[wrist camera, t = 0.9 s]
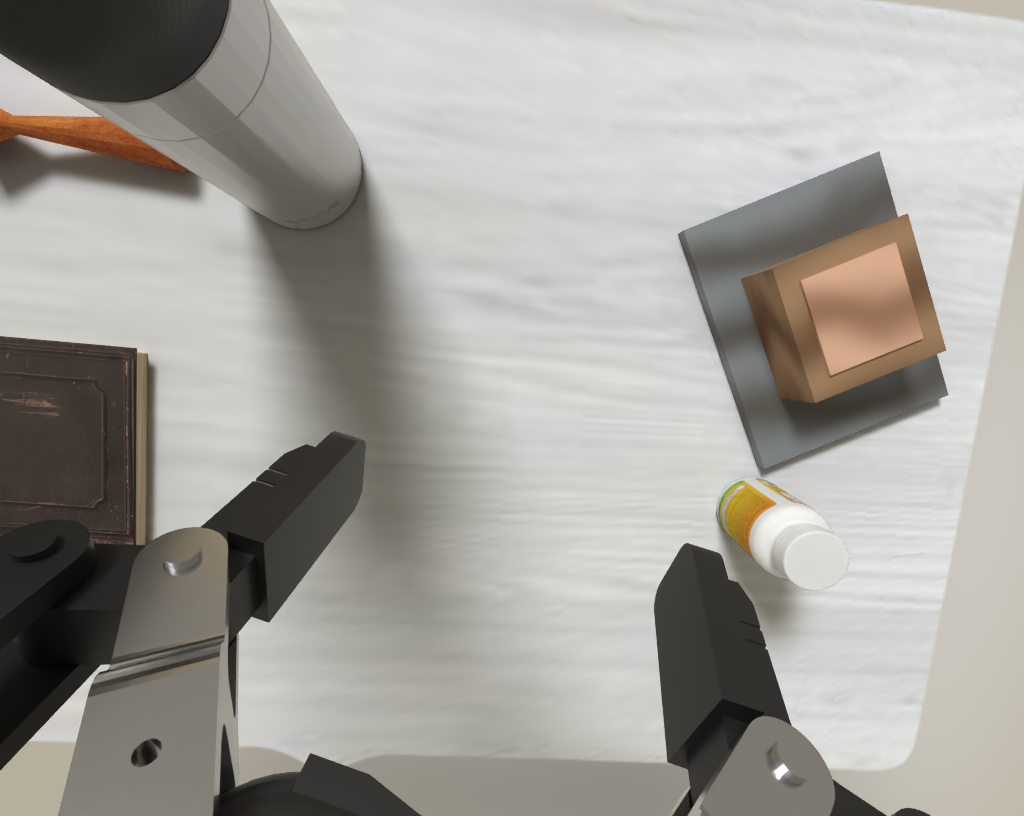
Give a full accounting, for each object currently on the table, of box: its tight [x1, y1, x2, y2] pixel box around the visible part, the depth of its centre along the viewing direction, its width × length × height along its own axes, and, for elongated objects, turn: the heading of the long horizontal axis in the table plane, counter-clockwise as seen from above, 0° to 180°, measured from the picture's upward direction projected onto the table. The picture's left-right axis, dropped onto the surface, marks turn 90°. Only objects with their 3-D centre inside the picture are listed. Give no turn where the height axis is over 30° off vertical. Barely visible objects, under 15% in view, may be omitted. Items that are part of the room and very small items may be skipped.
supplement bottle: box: [717, 477, 849, 591], centre depth 33 cm, size 5×5×10 cm
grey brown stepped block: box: [678, 152, 948, 469], centre depth 34 cm, size 20×16×5 cm
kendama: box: [0, 109, 188, 172], centre depth 31 cm, size 6×6×20 cm
